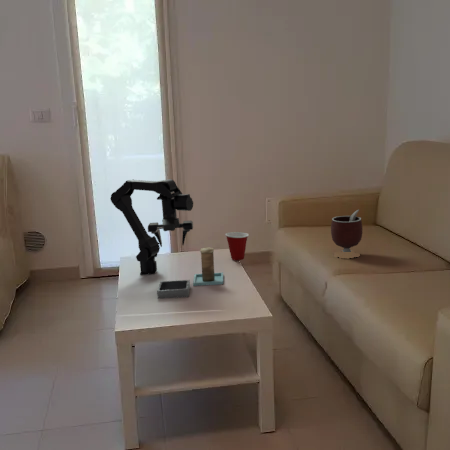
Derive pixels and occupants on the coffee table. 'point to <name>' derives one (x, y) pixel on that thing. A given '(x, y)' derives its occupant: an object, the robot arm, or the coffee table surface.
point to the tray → (199, 282)
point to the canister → (207, 264)
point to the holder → (173, 289)
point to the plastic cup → (237, 244)
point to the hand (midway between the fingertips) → (172, 245)
